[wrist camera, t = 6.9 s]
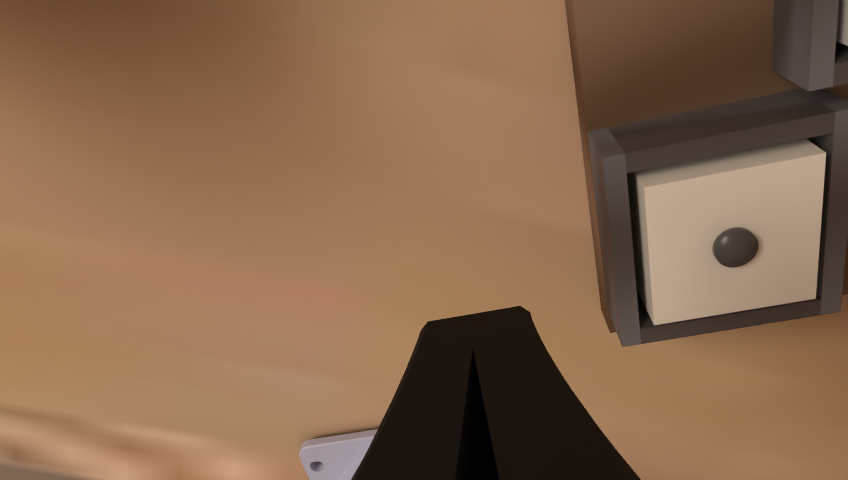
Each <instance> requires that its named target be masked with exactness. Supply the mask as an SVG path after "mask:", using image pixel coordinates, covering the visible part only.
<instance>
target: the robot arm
mask: <svg viewBox="0 0 848 480" xmlns="http://www.w3.org/2000/svg"><path fill="white" fill-rule="evenodd" d="M299 456H300V459H301V462H302V464H303V466H304V468H305V471H306V473H307V475H308V477H309V480H641V479H640V478H639V477H638V476H637V474H636V473H635V472H634V471H633V470H632V468H631V467H630V466H629V465H628V464H627V462H626V461H625V460H624V459H623V457H622V456H621V455H620V454H619V453H618V451H617V450H616V449H615V448H614V446H613V445H612V444H611V443H610V441H609V440H608V439H607V437H606V436H605V435H604V434H603V432H602V431H601V430H600V428H599V427H598V426H597V424H596V423H595V422H594V420H593V419H592V417H591V416H590V415H589V413H588V412H587V410H586V409H585V408H584V406H583V405H582V403H581V402H580V401H579V399H578V398H577V396H576V395H575V394H574V392H573V391H572V390H571V388H570V387H569V385H568V384H567V382H566V380H565V379H564V377H563V376H562V374H561V373H560V371H559V370H558V368H557V366H556V365H555V363H554V361H553V360H552V358H551V356H550V355H549V353H548V351H547V349H546V348H545V346H544V344H543V342H542V340H541V338H540V336H539V334H538V332H537V330H536V328H535V325H534V323H533V320H532V318H531V314H530V312H529V311H527V310H526V309H524V308H523V307H521V306H517V307H511V308H505V309H499V310H493V311H487V312H482V313H476V314H470V315H464V316H458V317H452V318H446V319H440V320H435V321H429V322H427V323H426V325H425V326H424V327H423V328H422V330H421V332H420V335H419V338H418V340H417V343H416V346H415V348H414V351H413V353H412V356H411V358H410V361H409V363H408V366H407V368H406V370H405V373H404V375H403V377H402V379H401V382H400V384H399V386H398V388H397V391H396V393H395V395H394V397H393V399H392V402H391V404H390V406H389V408H388V410H387V412H386V414H385V416H384V418H383V420H382V422H381V424H380V426H379V428H378V429H375V430H368V431H362V432H355V433H349V434H342V435H336V436H329V437H323V438H316V439H310V440H307V441H305V442H304V443H302V445H301V448H300V452H299ZM314 461H319V462H321V463H316V462H314Z"/></svg>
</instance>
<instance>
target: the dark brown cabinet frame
mask: <svg viewBox="0 0 848 480" xmlns="http://www.w3.org/2000/svg"><path fill="white" fill-rule="evenodd" d="M565 4H566V13H567V21H568V30H569V38H570V47H571V55H572V64H573V72H574V81H575V89H576V98H577V106H578V115H579V123H580V132H581V140H582V149H583V157H584V166H585V174H586V183H587V191H588V200H589V208H590V217H591V225H592V234H593V242H594V251H595V259H596V268H597V276H598V285H599V293H600V302H601V310H602V313H603V315H604V318H605V321H606V323H607V326H608V329H609V331H610V333H613V332H617V335H618V337H619V340H620V342H621V345H622V347H626V346H632V345H638V344H644V343H650V342H656V341H663V340H669V339H675V338H681V337H687V336H693V335H700V334H706V333H712V332H718V331H724V330H730V329H737V328H743V327H749V326H755V325H761V324H767V323H774V322H780V321H786V320H792V319H798V318H804V317H811V316H817V315H823V314H829V313H835V312H840V309H841V298H842V295H843V294H848V46H847V45H844V44H842V43H840V42H837V41H836V35H837V22H838V8H839V0H565ZM805 138H806V139H807V140H809V141H810V142H812V143H813V144H814V145H816V146H817V147H819V148H820V149H821V150H823V151H824V152H826V163H825V177H824V191H823V205H822V219H821V233H820V246H819V260H818V274H817V288H816V299H811V300H805V301H799V302H793V303H786V304H780V305H774V306H768V307H762V308H756V309H750V310H744V311H738V312H732V313H726V314H720V315H714V316H708V317H702V318H696V319H690V320H684V321H677V322H671V323H665V324H659V325H654V324H653V322H652V320H651V318H650V316H649V314H648V312H647V310H646V308H645V306H644V303H643V301H642V299H641V297H640V295H639V293H638V291H637V289H636V278H635V266H634V254H633V242H632V231H631V219H630V207H629V195H628V183H627V173H630V172H636V171H641V170H646V169H651V168H656V167H661V166H666V165H672V164H677V163H682V162H687V161H692V160H697V159H702V158H708V157H713V156H718V155H723V154H728V153H733V152H738V151H744V150H749V149H754V148H759V147H764V146H769V145H774V144H780V143H785V142H790V141H795V140H800V139H805Z"/></svg>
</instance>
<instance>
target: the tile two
mask: <svg viewBox="0 0 848 480" xmlns="http://www.w3.org/2000/svg"><path fill="white" fill-rule="evenodd" d="M836 41H837V42H840V43H842V44H844V45H847V46H848V0H839V8H838V22H837V35H836Z"/></svg>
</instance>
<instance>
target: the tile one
mask: <svg viewBox="0 0 848 480" xmlns="http://www.w3.org/2000/svg"><path fill="white" fill-rule="evenodd" d="M825 163H826V152H824V151H823V150H821V149H820V148H819V147H817V146H816V145H814V144H813V143H812V142H810V141H809V140H807V139H806V138H805V139H800V140H795V141H790V142H785V143H780V144H774V145H769V146H764V147H759V148H754V149H749V150H744V151H738V152H733V153H728V154H723V155H718V156H713V157H708V158H702V159H697V160H692V161H687V162H682V163H677V164H672V165H666V166H661V167H656V168H651V169H646V170H641V171H636V172H630V173H627V183H628V195H629V207H630V219H631V231H632V242H633V254H634V266H635V278H636V289H637V291H638V293H639V295H640V297H641V299H642V301H643V303H644V306H645V308H646V310H647V312H648V314H649V316H650V318H651V320H652V322H653V324H654V325H659V324H665V323H671V322H677V321H684V320H690V319H696V318H702V317H708V316H714V315H720V314H726V313H732V312H738V311H744V310H750V309H756V308H762V307H768V306H774V305H780V304H786V303H793V302H799V301H805V300H811V299H816V288H817V274H818V260H819V246H820V233H821V219H822V205H823V191H824V177H825Z"/></svg>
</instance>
